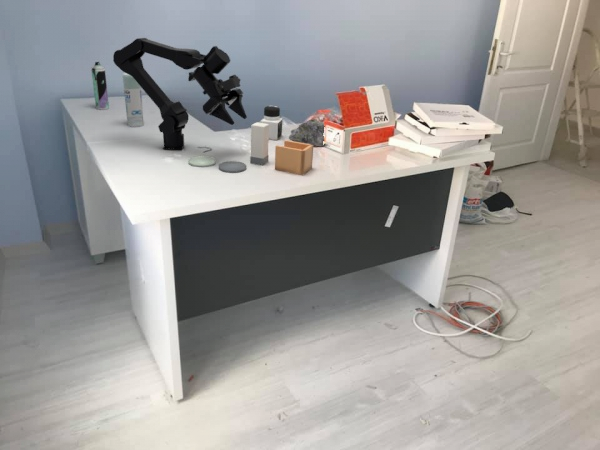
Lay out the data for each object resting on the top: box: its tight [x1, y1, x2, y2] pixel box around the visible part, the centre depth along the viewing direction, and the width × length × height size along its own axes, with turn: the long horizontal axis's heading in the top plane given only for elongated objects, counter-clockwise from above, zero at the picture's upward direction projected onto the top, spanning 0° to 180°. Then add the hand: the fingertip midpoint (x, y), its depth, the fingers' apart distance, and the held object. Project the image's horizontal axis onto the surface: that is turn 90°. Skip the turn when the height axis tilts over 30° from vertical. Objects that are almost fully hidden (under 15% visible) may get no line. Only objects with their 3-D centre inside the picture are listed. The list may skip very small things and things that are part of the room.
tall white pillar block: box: [249, 121, 270, 166], centre depth 166 cm, size 5×5×13 cm
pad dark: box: [217, 160, 247, 174], centre depth 162 cm, size 9×9×1 cm
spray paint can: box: [122, 72, 145, 128], centre depth 197 cm, size 6×6×20 cm
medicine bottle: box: [260, 105, 283, 141], centre depth 194 cm, size 7×7×12 cm
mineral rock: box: [288, 118, 325, 147], centre depth 190 cm, size 13×11×10 cm
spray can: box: [90, 61, 110, 111], centre depth 219 cm, size 6×6×20 cm
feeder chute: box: [274, 139, 315, 176], centre depth 163 cm, size 10×8×8 cm
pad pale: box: [187, 155, 217, 168], centre depth 165 cm, size 9×9×1 cm
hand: (239, 121), depth 165 cm, fingers open, 9 cm apart
